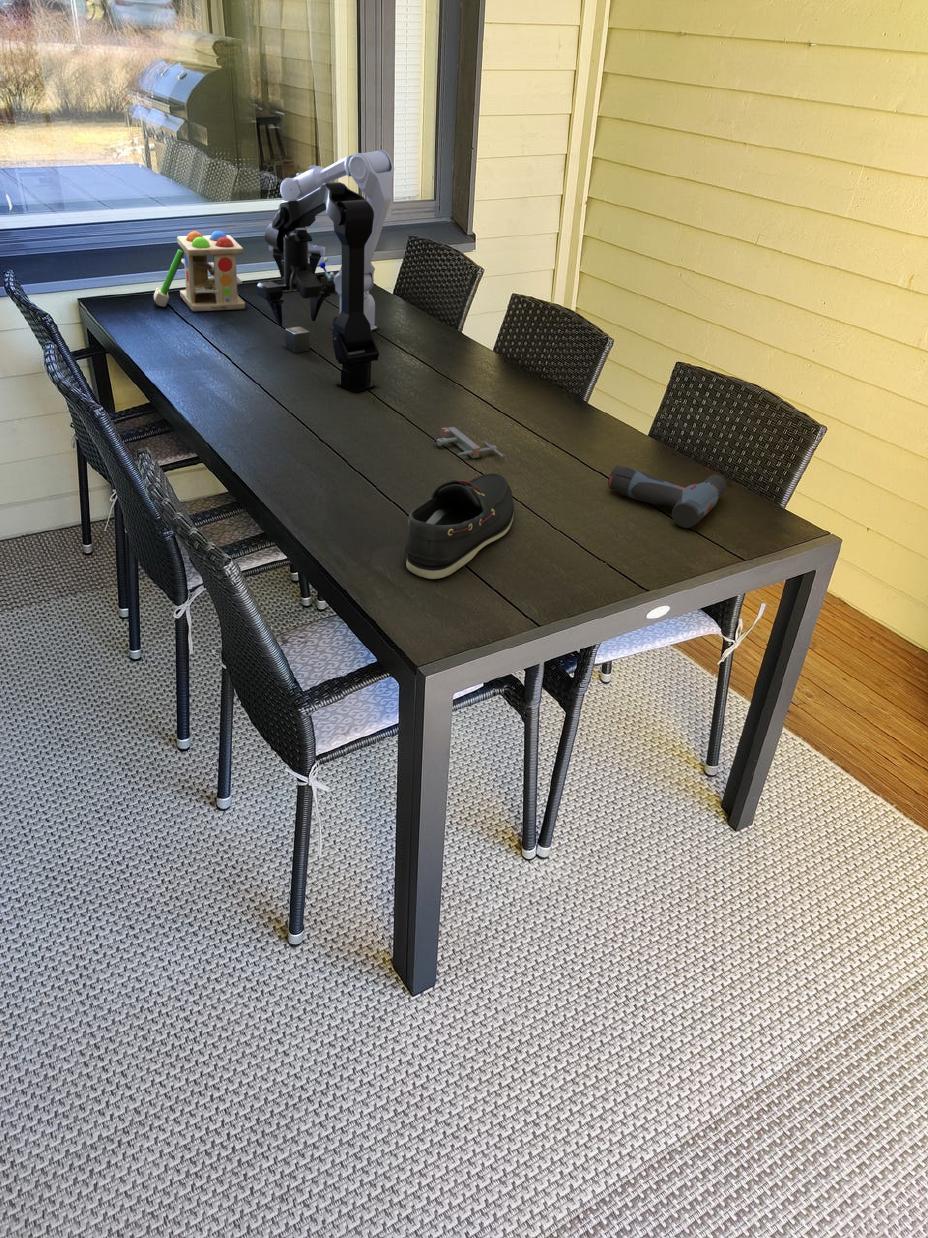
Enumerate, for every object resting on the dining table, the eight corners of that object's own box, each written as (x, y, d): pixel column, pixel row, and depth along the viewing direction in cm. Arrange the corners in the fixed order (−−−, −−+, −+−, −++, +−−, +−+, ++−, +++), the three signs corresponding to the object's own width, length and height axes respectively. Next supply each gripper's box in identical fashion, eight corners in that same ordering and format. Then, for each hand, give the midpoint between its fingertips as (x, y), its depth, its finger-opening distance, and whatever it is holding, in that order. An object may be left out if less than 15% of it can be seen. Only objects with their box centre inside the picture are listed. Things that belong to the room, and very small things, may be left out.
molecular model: (344, 283, 280) (333, 248, 279) (317, 296, 284) (305, 261, 282) (361, 286, 290) (350, 252, 289) (334, 298, 294) (323, 265, 293)
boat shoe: (539, 516, 182) (544, 464, 176) (440, 585, 158) (443, 528, 152) (480, 497, 187) (483, 446, 182) (376, 561, 163) (376, 505, 158)
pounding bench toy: (159, 313, 256) (153, 242, 246) (148, 297, 266) (141, 228, 256) (246, 308, 265) (243, 239, 255) (232, 293, 276) (228, 226, 266)
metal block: (285, 347, 244) (285, 328, 241) (299, 344, 246) (299, 326, 243) (295, 353, 241) (294, 333, 238) (309, 350, 243) (309, 331, 241)
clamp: (428, 429, 204) (470, 423, 208) (427, 439, 205) (469, 432, 209) (464, 459, 193) (507, 451, 198) (463, 469, 194) (506, 461, 199)
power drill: (637, 467, 202) (729, 498, 194) (598, 499, 188) (695, 533, 180) (642, 443, 199) (736, 473, 191) (602, 474, 185) (701, 507, 177)
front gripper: (277, 270, 221) (278, 338, 230) (348, 262, 231) (347, 328, 240) (254, 257, 228) (256, 324, 237) (323, 250, 238) (323, 314, 247)
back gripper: (265, 227, 251) (267, 281, 259) (322, 233, 251) (321, 287, 259) (271, 221, 257) (273, 274, 265) (326, 227, 257) (326, 280, 265)
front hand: (296, 323), depth 240 cm, fingers open, 9 cm apart
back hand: (297, 280), depth 262 cm, fingers open, 7 cm apart
